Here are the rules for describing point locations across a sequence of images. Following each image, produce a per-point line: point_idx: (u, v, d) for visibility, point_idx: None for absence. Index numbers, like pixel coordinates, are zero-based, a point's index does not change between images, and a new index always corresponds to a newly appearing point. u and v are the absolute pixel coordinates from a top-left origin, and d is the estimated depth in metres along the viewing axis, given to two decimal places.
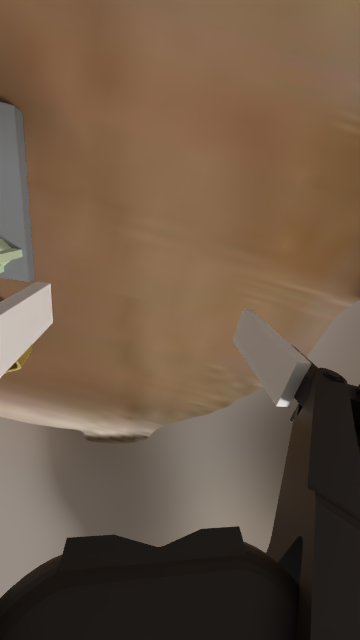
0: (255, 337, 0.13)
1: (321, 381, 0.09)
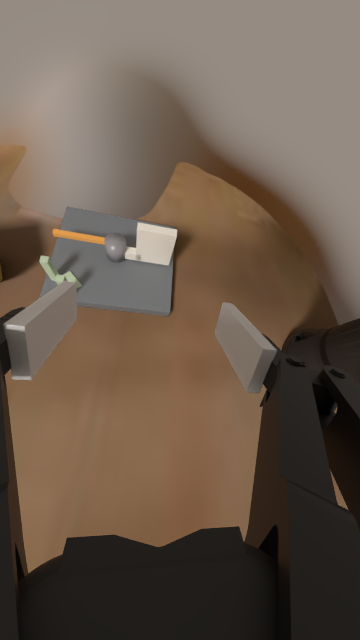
0: (232, 328, 0.14)
1: (285, 368, 0.09)
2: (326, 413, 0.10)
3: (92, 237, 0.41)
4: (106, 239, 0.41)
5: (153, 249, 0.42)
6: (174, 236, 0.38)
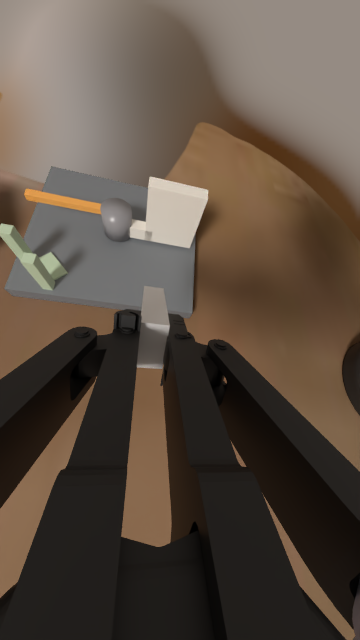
0: None
1: (175, 344, 0.10)
2: (218, 384, 0.11)
3: (83, 202, 0.28)
4: (102, 206, 0.28)
5: (170, 221, 0.29)
6: (204, 199, 0.26)
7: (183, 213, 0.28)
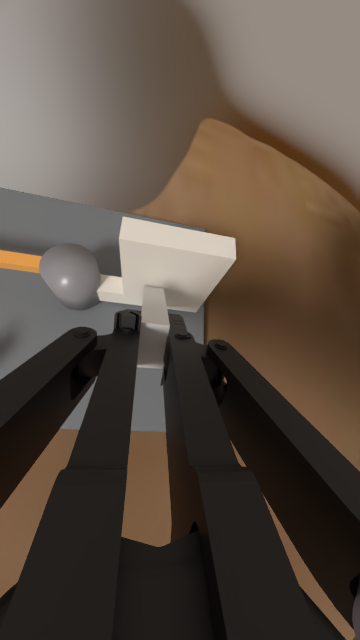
0: None
1: (175, 344, 0.10)
2: (218, 384, 0.11)
3: (7, 255, 0.16)
4: (44, 261, 0.16)
5: (165, 285, 0.17)
6: (229, 258, 0.13)
7: (188, 276, 0.15)
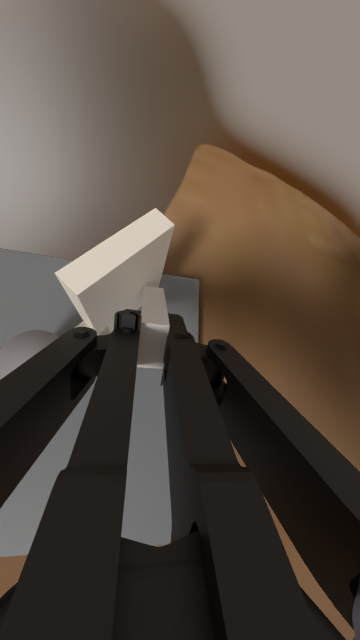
0: None
1: (175, 344, 0.10)
2: (218, 384, 0.11)
3: None
4: None
5: (128, 294, 0.16)
6: (169, 228, 0.13)
7: (143, 271, 0.15)
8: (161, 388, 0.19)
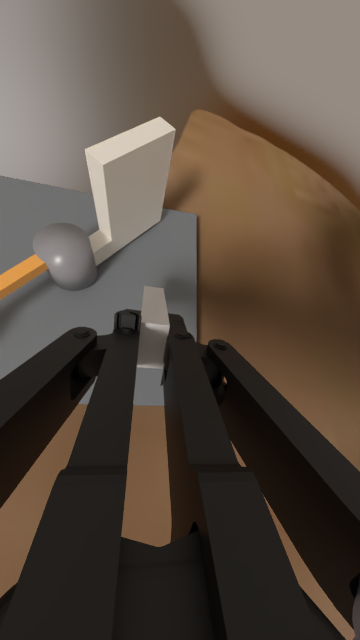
0: None
1: (175, 344, 0.10)
2: (218, 384, 0.11)
3: (10, 275, 0.15)
4: (42, 255, 0.16)
5: (137, 201, 0.19)
6: (171, 132, 0.16)
7: (150, 175, 0.18)
8: (165, 294, 0.22)
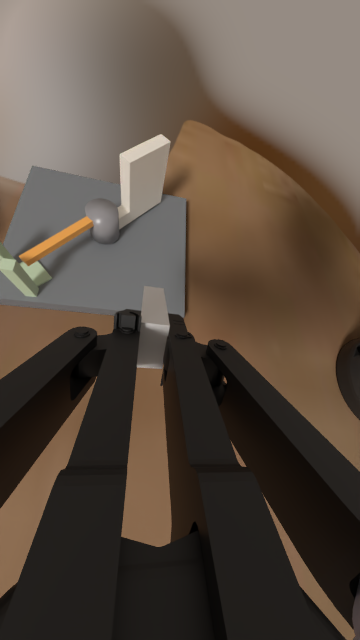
0: None
1: (175, 344, 0.10)
2: (218, 384, 0.11)
3: (74, 227, 0.26)
4: (91, 216, 0.27)
5: (146, 186, 0.30)
6: (168, 143, 0.27)
7: (155, 169, 0.28)
8: (164, 250, 0.33)
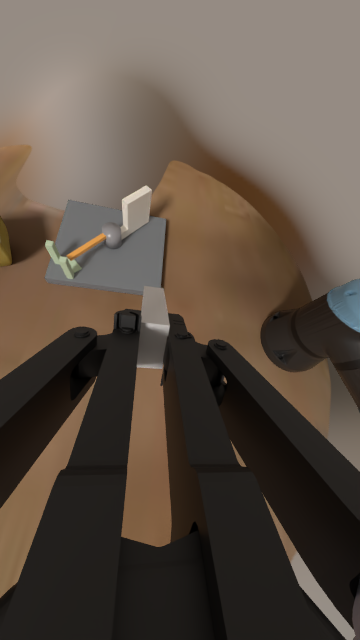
0: None
1: (175, 344, 0.10)
2: (218, 384, 0.11)
3: (95, 239, 0.45)
4: (105, 233, 0.46)
5: (138, 214, 0.49)
6: (150, 191, 0.46)
7: (143, 205, 0.48)
8: (149, 252, 0.52)
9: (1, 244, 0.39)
